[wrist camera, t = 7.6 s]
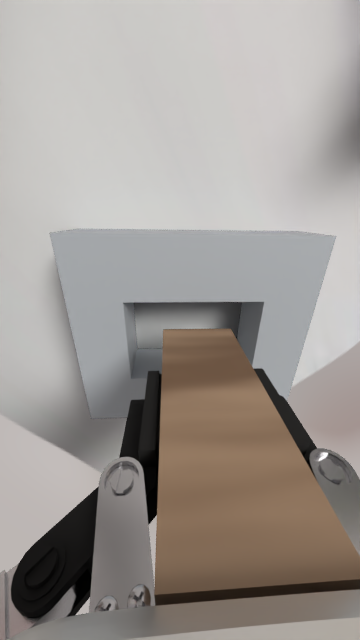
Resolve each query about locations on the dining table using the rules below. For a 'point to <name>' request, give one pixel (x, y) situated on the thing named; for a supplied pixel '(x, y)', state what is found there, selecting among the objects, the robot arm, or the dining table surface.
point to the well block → (185, 298)
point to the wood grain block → (236, 486)
